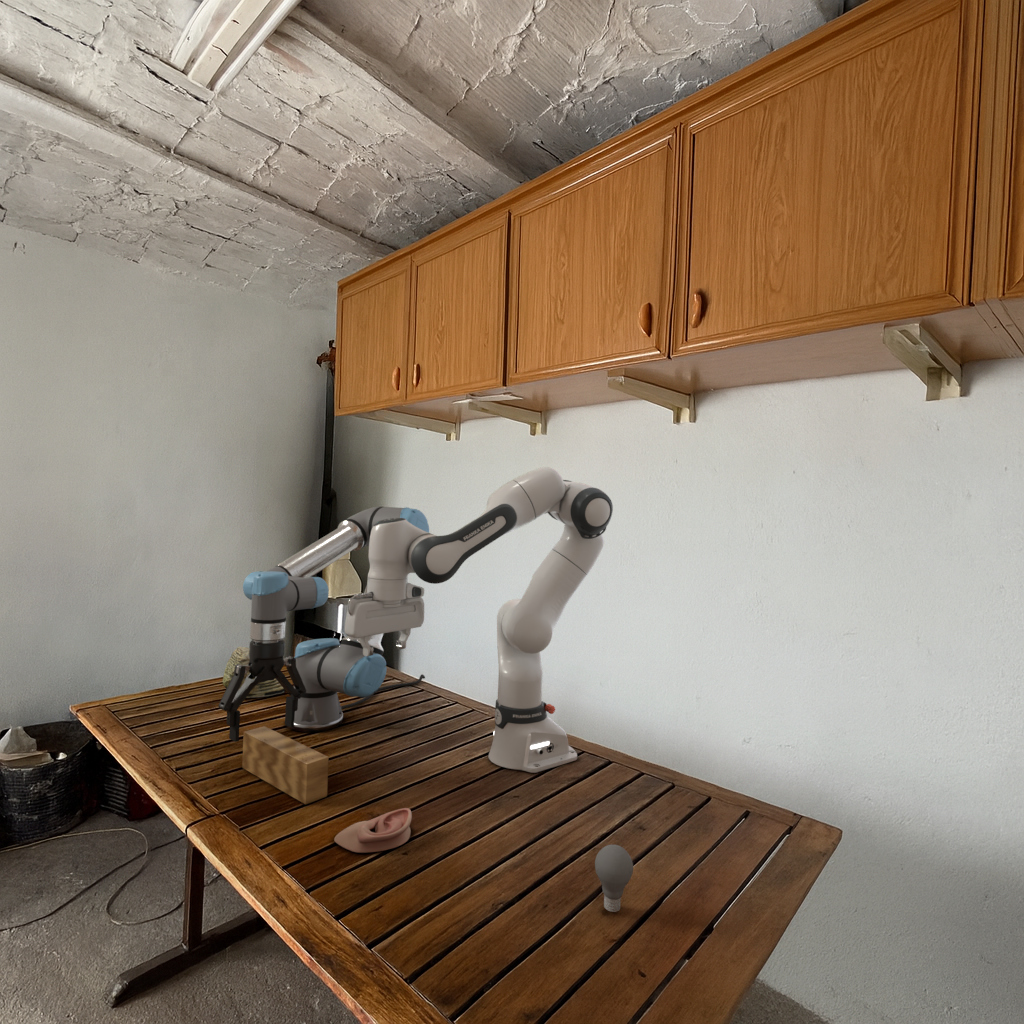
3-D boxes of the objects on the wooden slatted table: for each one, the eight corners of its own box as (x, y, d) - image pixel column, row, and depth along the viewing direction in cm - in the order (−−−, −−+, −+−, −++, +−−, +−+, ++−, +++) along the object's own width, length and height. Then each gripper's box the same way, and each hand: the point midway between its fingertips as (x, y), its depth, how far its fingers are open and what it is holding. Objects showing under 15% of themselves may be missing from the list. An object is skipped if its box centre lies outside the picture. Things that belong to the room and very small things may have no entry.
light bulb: (589, 897, 103) (592, 837, 103) (625, 897, 104) (628, 837, 104) (597, 922, 97) (600, 857, 97) (635, 921, 98) (638, 857, 98)
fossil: (218, 695, 195) (220, 647, 195) (278, 685, 208) (279, 640, 207) (228, 703, 189) (230, 653, 188) (289, 692, 201) (290, 645, 201)
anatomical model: (326, 826, 114) (355, 797, 125) (325, 847, 114) (354, 817, 126) (396, 837, 112) (418, 806, 123) (395, 859, 112) (417, 827, 123)
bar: (242, 767, 146) (243, 731, 146) (263, 761, 150) (264, 726, 150) (305, 804, 130) (307, 764, 130) (327, 796, 134) (328, 756, 134)
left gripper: (222, 650, 133) (216, 751, 133) (323, 635, 152) (319, 723, 152) (204, 644, 137) (199, 741, 137) (305, 630, 157) (301, 716, 157)
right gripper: (358, 596, 131) (355, 662, 132) (429, 588, 147) (427, 647, 148) (339, 592, 135) (337, 657, 136) (411, 585, 151) (409, 642, 152)
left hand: (262, 732), depth 145 cm, fingers open, 13 cm apart
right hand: (384, 652), depth 142 cm, fingers open, 8 cm apart
